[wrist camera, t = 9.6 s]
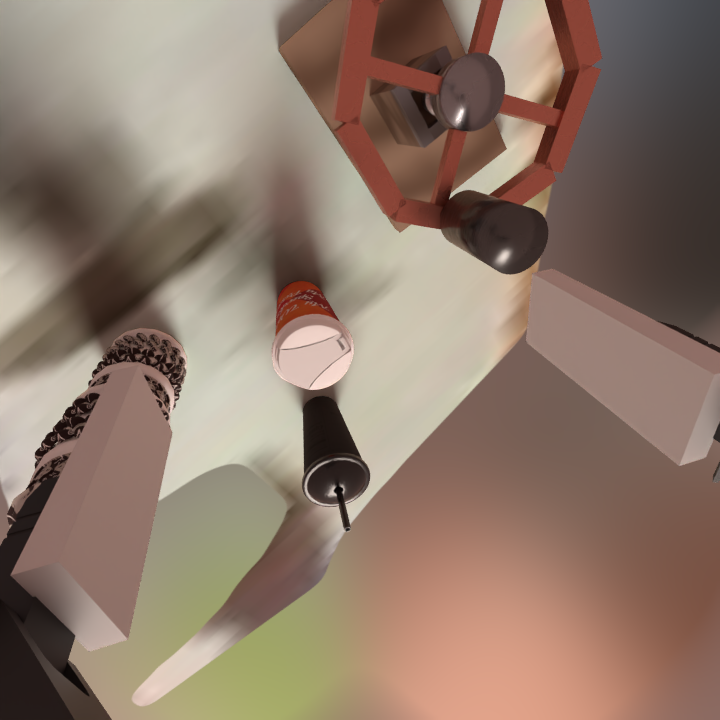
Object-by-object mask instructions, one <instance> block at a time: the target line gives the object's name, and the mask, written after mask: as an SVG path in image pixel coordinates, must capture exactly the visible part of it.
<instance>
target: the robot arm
mask: <svg viewBox="0 0 720 720" xmlns="http://www.w3.org/2000/svg"><path fill="white" fill-rule="evenodd" d="M526 342H527V343H528V344H529V345H530V346H532V347H533V348H534V349H535V350H536V351H538V352H539V353H540V354H541V355H543V356H544V357H545V358H546V359H548V360H549V361H550V362H551V363H553V364H554V365H555V366H556V367H557V368H559V369H560V370H561V371H562V372H564V373H565V374H566V375H567V376H569V377H570V378H571V379H572V380H574V381H575V382H576V383H577V384H579V385H580V386H581V387H582V388H584V389H585V390H586V391H587V392H588V393H590V394H591V395H592V396H593V397H595V398H596V399H597V400H598V401H600V402H601V403H602V404H603V405H604V406H606V407H607V408H608V409H609V410H611V411H612V412H613V413H614V414H616V415H617V416H618V417H619V418H621V419H622V420H623V421H624V422H625V423H627V424H628V425H629V426H630V427H632V428H633V429H634V430H635V431H637V432H638V433H639V434H640V435H642V436H643V437H644V438H645V439H646V440H648V441H649V442H650V443H651V444H653V445H654V446H655V447H656V448H658V449H659V450H660V451H661V452H663V453H664V454H665V455H666V456H667V457H669V458H670V459H671V460H672V461H674V462H675V463H676V464H678V465H679V466H681V465H684V464H687V463H690V462H693V461H696V460H699V459H703V458H706V456H707V453H708V451H709V448H710V446H711V444H712V442H713V439H715V440H717V441H718V442H720V348H719V347H717V346H715V345H713V344H708V342H707V341H705V340H703V339H701V338H699V337H694V336H693V334H691V333H689V332H686V331H685V330H683V329H680V328H678V327H677V326H674V325H670V324H667V323H663V322H659V321H655V320H653V319H651V318H649V317H647V316H645V315H643V314H641V313H639V312H637V311H635V310H633V309H631V308H629V307H627V306H625V305H623V304H621V303H619V302H617V301H615V300H614V299H611V298H610V297H608V296H606V295H603V294H602V293H600V292H598V291H596V290H594V289H592V288H590V287H588V286H586V285H584V284H582V283H580V282H578V281H576V280H574V279H572V278H570V277H568V276H566V275H564V274H562V273H560V272H558V271H556V270H554V269H549V270H545V271H540V272H536V273H532V283H531V294H530V305H529V317H528V328H527V340H526ZM171 437H172V431H171V429H170V427H169V425H168V423H167V421H166V419H165V417H164V415H163V413H162V411H161V409H160V407H159V405H158V403H157V401H156V399H155V397H154V395H153V393H152V391H151V389H150V387H149V385H148V383H147V381H146V379H145V377H144V375H143V373H142V371H141V369H140V367H139V365H136V366H131V367H127V368H123V369H118V370H114V371H112V372H111V374H110V376H109V378H108V380H107V382H106V384H105V386H104V388H103V390H102V392H101V394H100V396H99V398H98V400H97V402H96V404H95V406H94V408H93V410H92V412H91V414H90V416H89V418H88V421H87V423H86V425H85V427H84V429H83V431H82V433H81V435H80V437H79V439H78V441H77V443H76V445H75V447H74V449H73V451H72V453H71V455H70V457H69V459H68V461H67V463H66V465H65V467H64V469H63V471H62V473H61V475H60V476H57V477H53V478H50V479H46V480H44V481H43V482H42V483H41V484H40V485H39V486H38V487H37V488H36V489H35V490H34V491H33V492H32V494H31V495H30V496H29V497H28V498H27V499H26V500H25V502H24V504H23V506H22V508H21V509H20V511H19V513H18V515H17V517H16V522H13V524H12V526H11V527H10V529H9V531H8V533H7V538H5V539H4V540H3V542H2V544H1V546H0V720H112V719H111V718H110V716H109V715H108V713H107V712H106V710H105V709H104V707H103V706H102V705H101V703H100V702H99V700H98V699H97V697H96V696H95V694H94V693H93V691H92V690H91V688H90V687H89V685H88V684H87V682H86V681H85V680H84V678H83V677H82V675H81V674H80V672H79V671H78V669H77V668H76V666H75V665H74V664H72V663H71V662H70V661H69V660H68V658H69V655H70V652H71V648H72V645H73V642H74V639H76V640H77V641H79V642H80V643H81V644H82V645H83V646H84V647H85V648H86V649H87V650H88V651H92V650H96V649H99V648H102V647H106V646H109V645H112V644H115V643H118V642H121V641H125V640H128V637H129V633H130V627H131V623H132V619H133V614H134V609H135V605H136V599H137V595H138V591H139V586H140V581H141V577H142V572H143V567H144V563H145V558H146V553H147V549H148V544H149V539H150V535H151V530H152V525H153V521H154V516H155V511H156V507H157V502H158V497H159V493H160V488H161V483H162V479H163V474H164V469H165V465H166V460H167V455H168V451H169V446H170V442H171ZM719 480H720V462H719V464H718V467H717V469H716V471H715V473H714V475H713V482H716V483H718V482H719Z"/></svg>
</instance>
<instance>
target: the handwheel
mask: <svg viewBox="0 0 720 720" xmlns="http://www.w3.org/2000/svg"><path fill="white" fill-rule="evenodd" d="M384 1H385V0H348V3H347V10H346V17H345V24H344V31H343V39H342V46H341V53H340V60H339V67H338V74H337V81H336V88H335V95H334V102H333V109H332V116H331V120H333V121H337V122H342V124H341V125H340V126H338V127H337V128H336V129H334V130H333V131H334V133H335V135H336V136H337V138H338V140H339V141H340V143H341V145H342V146H343V148H344V149H345V151H346V153H347V154H348V156H349V158H350V159H351V161H352V163H353V164H354V166H355V168H356V169H357V171H358V173H359V174H360V176H361V177H362V179H363V181H364V182H365V184H366V186H367V187H368V189H369V191H370V192H371V194H372V196H373V197H374V199H375V200H376V202H377V204H378V205H379V207H380V209H381V210H382V212H383V213H384V214H385V215H387V216H388V217H389V216H390V218H391V219H393V220H394V221H395V222H401V223H407V224H413V225H418V226H424V227H430V228H436V229H441V231H442V233H443V235H444V237H445V238H446V239H447V240H448V241H449V242H451V243H452V244H454V245H456V246H457V247H459V248H461V249H462V250H464V251H466V252H467V253H469V254H471V255H472V256H474V257H476V258H477V259H479V260H481V261H482V262H484V263H486V264H487V265H489V266H491V267H492V268H494V269H496V270H497V271H499V272H501V273H504V274H517V273H520V272H522V271H525V270H526V269H528V268H529V267H531V266H532V265H533V264H534V263H535V262H536V261H537V260H538V259H539V258H540V256H541V255H542V253H543V251H544V249H545V247H546V243H547V239H548V226H547V222H546V220H545V218H544V217H543V215H542V214H541V213H540V212H538V211H537V210H535V209H532V208H529V207H526V206H522V205H523V204H524V203H525V202H527V201H528V200H530V199H531V198H532V197H534V196H535V195H537V194H538V193H539V192H541V191H542V190H544V189H545V188H546V187H548V186H549V185H551V184H552V183H553V182H555V181H556V179H555V176H554V173H553V171H554V172H560V173H562V171H563V169H564V166H565V163H566V161H567V158H568V155H569V153H570V150H571V147H572V145H573V142H574V140H575V137H576V134H577V131H578V129H579V126H580V124H581V121H582V118H583V116H584V113H585V110H586V108H587V105H588V102H589V100H590V97H591V95H592V92H593V89H594V87H595V84H596V81H597V78H598V76H599V73H600V71H601V69H598V68H595V67H592V65H593V64H595V63H596V62H597V61H599V60H600V59H601V58H602V56H601V52H600V48H599V44H598V39H597V35H596V31H595V27H594V23H593V19H592V14H591V10H590V6H589V2H588V0H545V3H546V6H547V10H548V13H549V17H550V20H551V24H552V27H553V31H554V34H555V38H556V41H557V45H558V48H559V52H560V55H561V58H562V62H563V65H564V69H565V73H564V76H563V79H562V82H561V85H560V88H559V91H558V94H557V96H556V99H555V102H554V105H553V108H551V107H548V106H544V105H541V104H537V103H534V102H530V101H527V100H523V99H520V98H516V97H513V96H509V95H506V94H504V93H505V81H504V75H503V72H502V70H501V67H500V66H499V64H498V63H497V61H496V60H495V59H494V58H492V57H491V56H489V55H488V54H489V51H490V47H491V43H492V40H493V36H494V32H495V29H496V25H497V21H498V18H499V14H500V10H501V7H502V3H503V0H481V4H480V8H479V12H478V15H477V19H476V23H475V27H474V31H473V35H472V39H471V43H470V47H469V51H468V54H467V55H464V56H461V57H458V58H455V59H453V60H451V61H450V62H448V63H447V64H446V65H445V66H444V67H443V68H442V69H441V70H440V72H439V73H438V75H435V74H431V73H428V72H424V71H421V70H417V69H414V68H410V67H407V66H403V65H400V64H396V63H393V62H389V61H386V60H382V59H378V58H375V57H371V50H372V44H373V38H374V32H375V26H376V21H377V15H378V9H379V5H380V4H381V3H383V2H384ZM367 78H370V79H373V80H377V81H381V82H385V83H388V84H392V85H396V86H400V87H403V88H407V89H411V90H415V91H418V92H422V93H423V96H422V105H423V107H424V109H425V110H426V111H428V112H429V113H430V114H431V115H434V116H436V118H437V120H438V121H439V123H440V124H441V125H442V126H444V127H445V128H447V129H448V133H447V137H446V141H445V145H444V149H443V153H442V157H441V161H440V165H439V169H438V173H437V177H436V180H435V184H434V188H433V192H432V196H431V200H430V202H426V201H421V200H415V199H410V198H405V197H403V195H402V194H401V192H400V190H399V188H398V187H397V185H396V183H395V181H394V180H393V178H392V176H391V174H390V173H389V171H388V169H387V167H386V165H385V164H384V162H383V160H382V158H381V157H380V155H379V153H378V151H377V150H376V148H375V146H374V144H373V142H372V141H371V139H370V137H369V135H368V134H367V132H366V130H365V128H364V127H363V125H362V123H361V121H360V115H361V109H362V103H363V98H364V92H365V86H366V80H367ZM497 113H500V114H504V115H508V116H512V117H515V118H519V119H523V120H527V121H530V122H534V123H538V124H542V125H545V126H546V128H545V131H544V134H543V137H542V140H541V143H540V146H539V149H538V151H537V154H536V157H535V160H534V163H532V164H531V165H529V166H528V167H527V168H525V169H524V170H523V171H521V172H520V173H518V174H517V175H516V176H514V177H513V178H512V179H510V180H509V181H507V182H506V183H505V184H503V185H502V186H501V187H499V188H498V189H496V190H495V191H494V192H492V193H491V194H490V195H486V194H483V193H480V192H476V191H472V190H466V191H462V192H459V193H457V194H455V195H454V196H453V197H451V198H450V199H449V197H450V194H451V190H452V186H453V183H454V179H455V175H456V172H457V168H458V164H459V161H460V157H461V153H462V150H463V146H464V142H465V139H466V135H467V132H472V131H477V130H480V129H482V128H484V127H485V126H487V125H488V124H489V123H490V122H491V121H492V120H493V119H494V118H495V116H496V115H497ZM464 131H467V132H464Z"/></svg>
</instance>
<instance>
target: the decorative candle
mask: <svg viewBox="0 0 720 720" xmlns="http://www.w3.org/2000/svg"><path fill="white" fill-rule="evenodd" d="M107 353H108V354H104V355H103V357H102V358H103V361H101V362H99V363H98V365H97V369H95V370H94V371H93V372H92V377H93V379H92V380H90V381H89V383H88V385H89V387H88V390H86V391H85V392H84V393H82V394H81V395H80V396H78V397H77V398H76V400H75V401H74V402H73V404H72V406H71V407H68V408H67V409H66V411H65V413H64V415H63V419H62V420H60V421H59V422H58V423H57V424H56V425H55V426H54V428H53V432H50V433H48V434H47V435H46V437H45V439H44V440H43V441H42V443H41V447H40V448H39V449H37V451H36V452H35V458H36V459H37V461H36V463H35V469H36V470H35V472H34V474H33V476H32V478H31V481H30V484H29V485H28V487H27V488H26V490H25V491H24V492H22V493H21V494H20V495H18V496H17V497H16V498H14V500H13V502H12V504H11V507H10V509H9V511H8V513H7V517H8V522H9V526H10V527H11V526H12V524H13V522H16V517H17V515H18V513H19V511H20V509H21V508H22V506H23V504H24V502H25V500H26V499H27V498H28V497H29V496H30V495H31V494H32V492H33V491H34V490H35V489H36V488H37V487H38V486H39V485H40V484H41V483H42V482H43V481H44V480H46V479H50V478H53V477H57V476H60V475H61V473H62V471H63V469H64V467H65V465H66V463H67V461H68V459H69V457H70V455H71V453H72V451H73V449H74V447H75V445H76V443H77V441H78V439H79V437H80V435H81V433H82V431H83V429H84V427H85V425H86V423H87V421H88V418H89V416H90V414H91V412H92V410H93V408H94V406H95V404H96V402H97V400H98V398H99V396H100V394H101V392H102V390H103V388H104V386H105V384H106V382H107V380H108V378H109V376H110V374H111V372H112V371H114V370H118V369H123V368H127V367H131V366H136V365H139V367H140V369H141V371H142V373H143V375H144V377H145V379H146V381H147V383H148V385H149V387H150V389H151V391H152V393H153V395H154V397H155V399H156V401H157V403H158V405H159V407H160V409H161V411H162V413H163V415H164V417H165V419H166V421H167V423H168V425H169V427H170V413H171V411H172V410H173V409H174V408H175V406H176V403H175V401H177V400H178V399H179V392H180V391H181V385H182V384H183V383H184V377H185V375H186V370H187V356H186V354H185V352H184V350H183V348H182V346H181V344H179V343H178V342H177V341H176V340H175V339H174V338H173V337H172V336H171V335H168V334H166V333H164V332H161V331H159V330H157V329H147V328H138V329H134V330H130V331H126V332H124V333H123V334H122V335H121V336H119V337H118V338H117V339H115V340H114V342H113V344H112V346H111V347H109V348H108V349H107ZM56 442H58V443H57V444H55V443H56ZM54 444H55V445H56V446H55V445H54Z"/></svg>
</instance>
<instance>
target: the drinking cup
mask: <svg viewBox="0 0 720 720" xmlns="http://www.w3.org/2000/svg"><path fill="white" fill-rule="evenodd" d="M303 434H304V476H303V479H302V489H303V492H304V494H305V496H306V497H307V498H308V499H309V500H310V501H311V502H313V503H315V504H317V505H320V506H325V507H336V506H339V509H340V513H341V518H342V522H343V527H344V531H345V532H349V531H350V530H351V527H350V523H349V518H348V514H347V510H346V506H345V504H347V503H350V502H352V501H354V500H355V499H357V498H358V497H359V496H360V495H362V493H363V492H364V491H365V490H366V488H367V486H368V484H369V481H370V471H369V468H368V466H367V464H366V463H365V462H364V461H363V460H362V458H361V456H360V454H359V452H358V450H357V447H356V445H355V443H354V441H353V439H352V437H351V434H350V432H349V430H348V428H347V426H346V424H345V421H344V419H343V417H342V415H341V413H340V410H339V408H338V406H337V404H336V402H335V401H334V400H332V399H331V398H329V397H324V396H321V397H316V398H313V399H311V400H310V401H309V402H307V404H306V405H305V407H304V409H303Z"/></svg>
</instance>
